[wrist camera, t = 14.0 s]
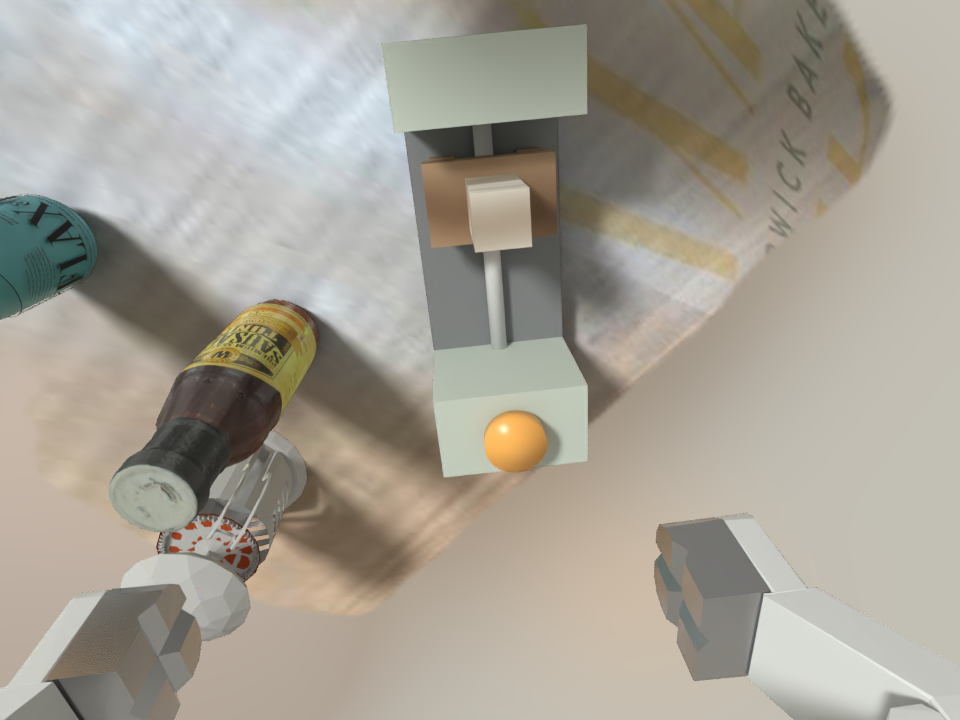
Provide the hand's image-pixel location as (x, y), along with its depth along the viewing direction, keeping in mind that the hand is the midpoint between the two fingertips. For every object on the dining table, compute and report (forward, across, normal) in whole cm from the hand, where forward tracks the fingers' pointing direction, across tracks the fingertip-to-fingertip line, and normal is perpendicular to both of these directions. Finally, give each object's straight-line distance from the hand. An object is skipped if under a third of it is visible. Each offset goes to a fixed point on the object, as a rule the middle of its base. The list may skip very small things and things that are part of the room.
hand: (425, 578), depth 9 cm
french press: (+34, +18, +20) cm, 43 cm away
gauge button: (+28, -4, +13) cm, 31 cm away
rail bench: (+34, -4, +3) cm, 34 cm away
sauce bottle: (+34, +13, +8) cm, 37 cm away
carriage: (+31, -4, -1) cm, 32 cm away
